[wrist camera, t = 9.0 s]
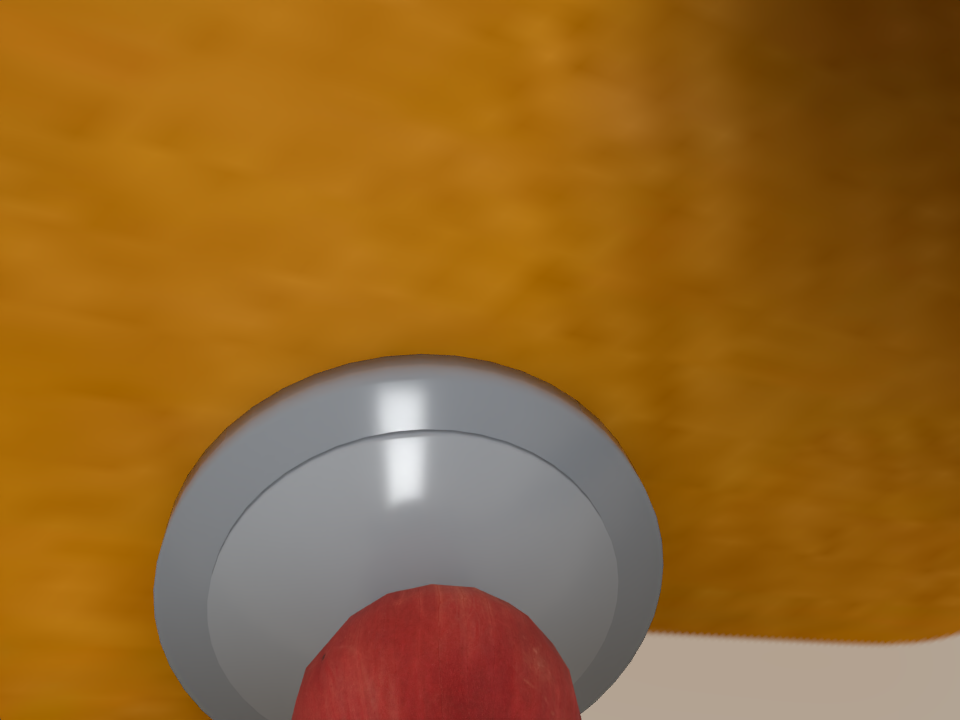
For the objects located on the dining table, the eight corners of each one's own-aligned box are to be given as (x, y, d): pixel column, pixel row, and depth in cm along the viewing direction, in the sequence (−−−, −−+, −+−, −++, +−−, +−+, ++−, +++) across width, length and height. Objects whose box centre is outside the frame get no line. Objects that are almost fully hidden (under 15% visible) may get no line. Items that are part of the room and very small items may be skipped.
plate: (651, 322, 21) (672, 351, 19) (646, 703, 26) (662, 746, 25) (103, 392, 20) (87, 429, 18) (219, 774, 25) (212, 823, 24)
